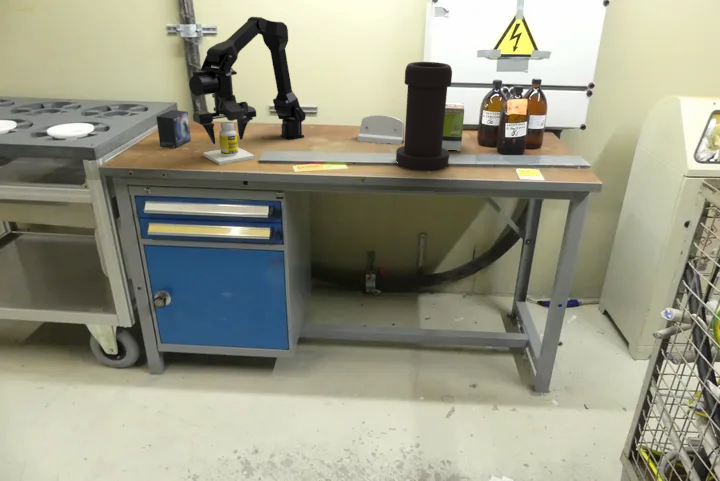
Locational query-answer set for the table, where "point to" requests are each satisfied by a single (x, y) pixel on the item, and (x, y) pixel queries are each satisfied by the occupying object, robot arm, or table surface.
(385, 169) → the table surface
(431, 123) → the pipe
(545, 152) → the table surface
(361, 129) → the grey rounded upright plate
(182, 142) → the small box
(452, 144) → the tea box
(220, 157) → the pad
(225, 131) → the supplement bottle
